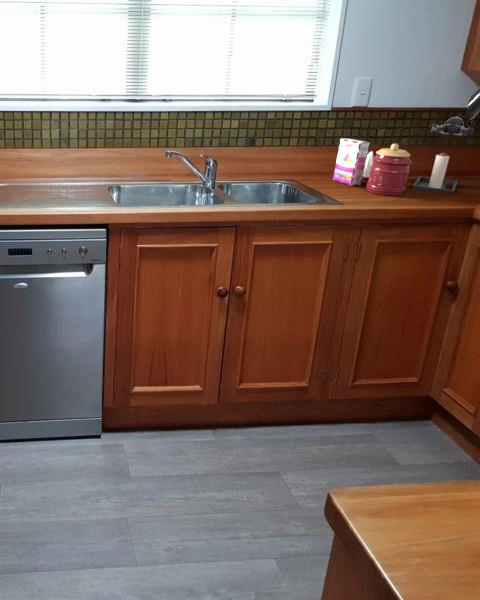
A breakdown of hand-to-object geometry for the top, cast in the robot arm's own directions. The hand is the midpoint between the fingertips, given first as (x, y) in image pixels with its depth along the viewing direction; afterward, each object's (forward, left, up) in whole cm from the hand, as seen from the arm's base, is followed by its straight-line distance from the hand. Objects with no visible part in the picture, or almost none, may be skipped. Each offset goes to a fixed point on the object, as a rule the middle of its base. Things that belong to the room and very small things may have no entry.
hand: (450, 132), depth 235 cm
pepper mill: (0, +12, -20) cm, 23 cm away
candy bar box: (+30, +26, -20) cm, 44 cm away
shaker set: (+24, +12, -20) cm, 33 cm away
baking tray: (0, +12, -20) cm, 23 cm away
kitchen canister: (+15, +34, -20) cm, 42 cm away
